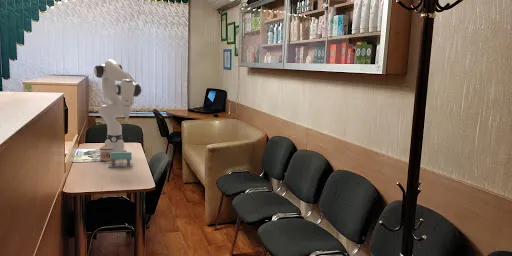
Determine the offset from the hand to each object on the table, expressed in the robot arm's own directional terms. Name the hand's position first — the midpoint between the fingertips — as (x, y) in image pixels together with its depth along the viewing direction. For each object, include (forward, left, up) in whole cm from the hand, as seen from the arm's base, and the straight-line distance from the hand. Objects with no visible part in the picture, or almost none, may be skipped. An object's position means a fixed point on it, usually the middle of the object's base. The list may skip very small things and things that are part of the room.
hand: (127, 120), depth 302 cm
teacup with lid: (-9, -14, -31) cm, 35 cm away
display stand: (+12, -3, -31) cm, 33 cm away
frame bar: (+12, -3, -26) cm, 29 cm away
